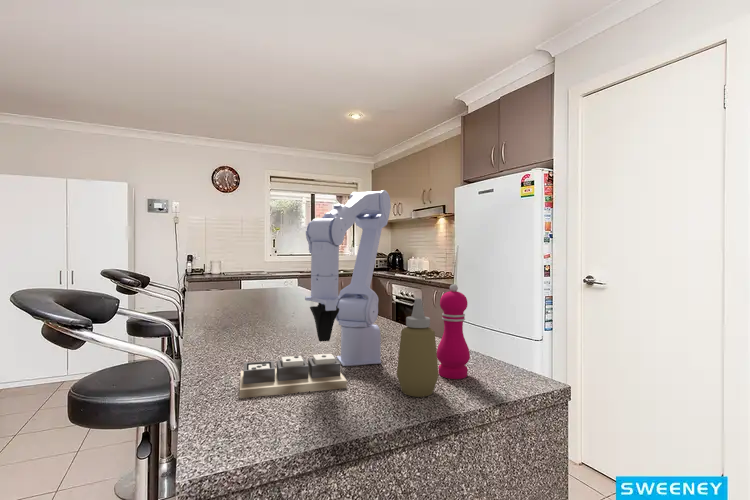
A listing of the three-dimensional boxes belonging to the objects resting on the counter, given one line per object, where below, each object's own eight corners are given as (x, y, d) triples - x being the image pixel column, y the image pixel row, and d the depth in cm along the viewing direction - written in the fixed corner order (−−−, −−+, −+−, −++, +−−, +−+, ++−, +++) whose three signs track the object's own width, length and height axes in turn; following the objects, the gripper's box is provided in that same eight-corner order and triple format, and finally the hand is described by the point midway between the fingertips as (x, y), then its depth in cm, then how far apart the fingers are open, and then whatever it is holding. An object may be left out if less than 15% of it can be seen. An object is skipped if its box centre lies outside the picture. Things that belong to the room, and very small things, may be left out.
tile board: (334, 370, 89) (334, 352, 89) (346, 388, 78) (346, 367, 78) (241, 378, 83) (241, 359, 83) (239, 398, 72) (239, 376, 72)
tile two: (300, 365, 83) (301, 355, 83) (303, 370, 79) (303, 359, 79) (281, 366, 82) (281, 356, 82) (282, 372, 78) (283, 361, 78)
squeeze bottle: (410, 403, 70) (412, 302, 71) (388, 389, 78) (389, 297, 78) (447, 395, 74) (448, 300, 74) (422, 383, 81) (423, 295, 81)
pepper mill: (433, 370, 90) (433, 282, 91) (463, 369, 91) (464, 282, 91) (440, 380, 83) (441, 285, 83) (474, 379, 84) (475, 285, 84)
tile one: (331, 362, 85) (331, 352, 85) (335, 368, 81) (335, 357, 81) (312, 364, 84) (312, 354, 84) (315, 369, 80) (315, 359, 80)
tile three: (268, 373, 81) (269, 362, 81) (269, 379, 77) (269, 368, 77) (248, 374, 80) (248, 364, 80) (248, 381, 76) (248, 369, 76)
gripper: (301, 273, 88) (300, 334, 88) (310, 277, 75) (309, 349, 74) (332, 273, 91) (331, 333, 90) (347, 277, 77) (346, 347, 77)
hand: (324, 340), depth 83 cm, fingers closed
